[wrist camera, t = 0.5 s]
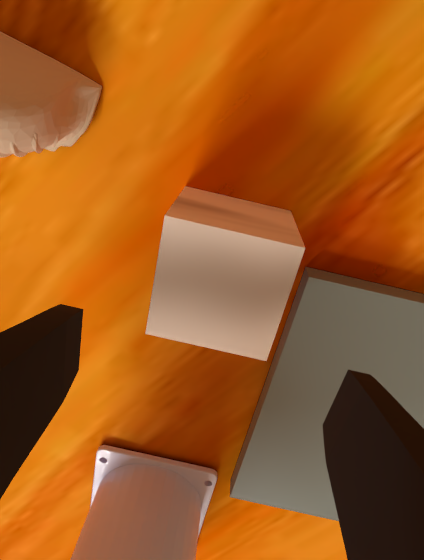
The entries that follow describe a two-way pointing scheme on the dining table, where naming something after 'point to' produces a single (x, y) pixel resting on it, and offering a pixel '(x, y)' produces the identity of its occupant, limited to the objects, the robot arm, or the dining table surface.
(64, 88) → the decorative ornament
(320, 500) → the board
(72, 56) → the dining table surface
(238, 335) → the cream cube
